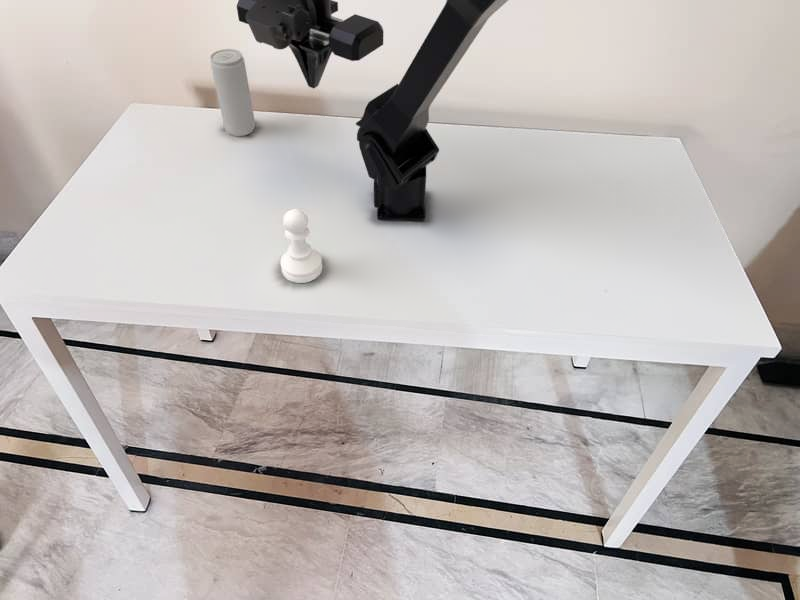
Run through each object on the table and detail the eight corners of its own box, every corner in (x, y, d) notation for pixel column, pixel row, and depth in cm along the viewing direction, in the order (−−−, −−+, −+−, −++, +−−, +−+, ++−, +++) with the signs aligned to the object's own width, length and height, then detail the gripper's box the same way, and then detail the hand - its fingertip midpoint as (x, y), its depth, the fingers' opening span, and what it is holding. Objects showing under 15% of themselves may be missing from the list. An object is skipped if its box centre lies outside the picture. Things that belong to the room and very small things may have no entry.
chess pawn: (329, 273, 75) (324, 216, 68) (293, 289, 73) (283, 232, 66) (311, 250, 77) (304, 193, 71) (275, 265, 76) (264, 207, 69)
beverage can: (218, 131, 96) (202, 57, 87) (240, 118, 99) (226, 45, 90) (241, 141, 94) (226, 66, 86) (262, 127, 97) (250, 54, 88)
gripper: (191, -41, 67) (218, 90, 79) (325, 2, 61) (332, 137, 73) (259, -67, 74) (275, 57, 85) (387, -31, 67) (384, 98, 79)
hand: (313, 86), depth 80 cm, fingers closed
